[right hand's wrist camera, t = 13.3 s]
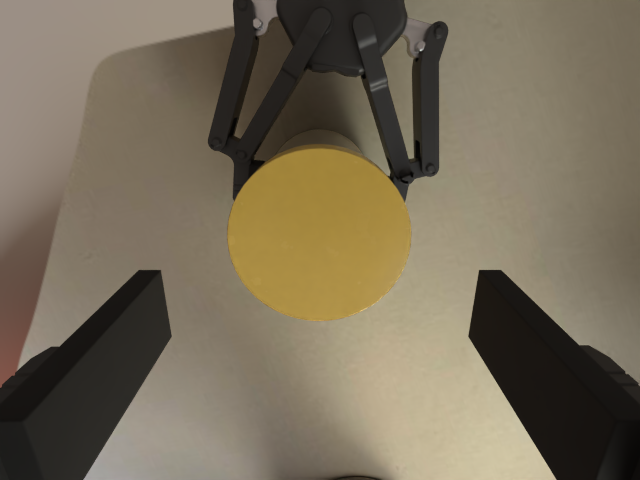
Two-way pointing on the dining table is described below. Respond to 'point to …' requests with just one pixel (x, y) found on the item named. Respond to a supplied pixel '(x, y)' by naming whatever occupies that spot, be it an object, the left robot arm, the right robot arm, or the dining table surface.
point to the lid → (319, 233)
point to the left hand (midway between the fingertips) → (312, 251)
